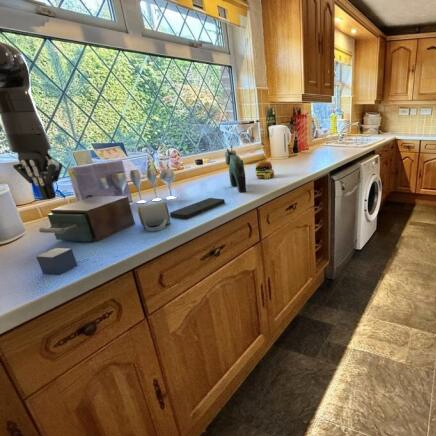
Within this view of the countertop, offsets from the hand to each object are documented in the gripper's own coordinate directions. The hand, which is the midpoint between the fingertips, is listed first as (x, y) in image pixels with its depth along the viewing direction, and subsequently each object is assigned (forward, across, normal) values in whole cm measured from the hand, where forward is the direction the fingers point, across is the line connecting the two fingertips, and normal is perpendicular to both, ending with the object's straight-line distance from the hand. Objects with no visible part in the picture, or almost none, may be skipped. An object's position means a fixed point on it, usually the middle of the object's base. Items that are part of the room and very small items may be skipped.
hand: (49, 198), depth 81 cm
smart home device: (+14, +20, +34) cm, 42 cm away
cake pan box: (+14, -20, +35) cm, 43 cm away
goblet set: (+14, -11, +42) cm, 46 cm away
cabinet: (+14, 0, +11) cm, 18 cm away
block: (+14, +12, -12) cm, 22 cm away
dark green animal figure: (+14, +21, +67) cm, 72 cm away
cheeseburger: (+14, +25, +91) cm, 95 cm away
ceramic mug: (+14, +16, +17) cm, 27 cm away
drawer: (+13, 0, +6) cm, 15 cm away
